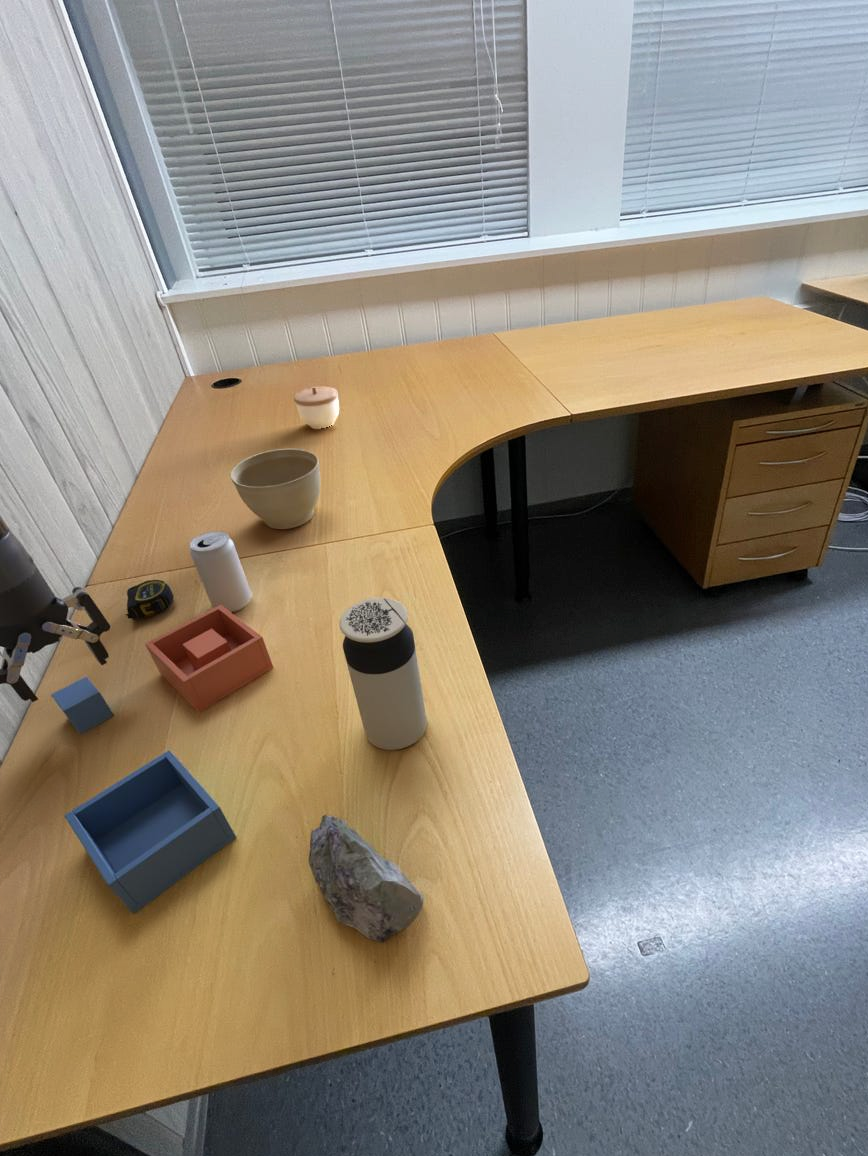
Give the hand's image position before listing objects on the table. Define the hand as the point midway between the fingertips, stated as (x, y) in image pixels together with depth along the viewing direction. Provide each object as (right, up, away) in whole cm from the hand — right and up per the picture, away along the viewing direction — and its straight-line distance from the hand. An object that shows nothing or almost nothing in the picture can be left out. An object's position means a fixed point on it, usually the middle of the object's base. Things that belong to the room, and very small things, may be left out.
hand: (68, 679), depth 79 cm
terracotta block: (+15, +1, +10) cm, 18 cm away
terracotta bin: (+15, +1, +10) cm, 18 cm away
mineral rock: (+41, -20, -16) cm, 48 cm away
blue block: (0, -5, +4) cm, 7 cm away
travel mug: (+42, -6, 0) cm, 42 cm away
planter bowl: (+15, +29, +43) cm, 54 cm away
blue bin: (+18, -17, -11) cm, 27 cm away
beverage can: (+12, +11, +23) cm, 28 cm away
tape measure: (-1, +10, +22) cm, 24 cm away
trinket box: (+12, +60, +80) cm, 101 cm away
